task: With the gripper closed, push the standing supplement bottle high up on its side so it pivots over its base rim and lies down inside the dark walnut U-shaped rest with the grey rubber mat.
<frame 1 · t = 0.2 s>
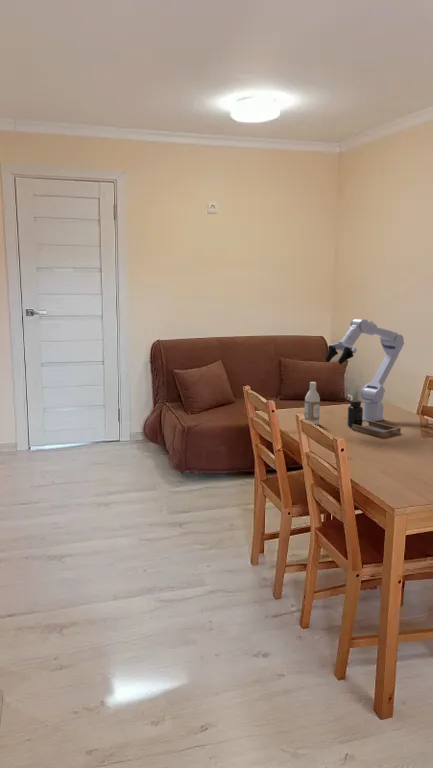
hand: (333, 361, 264), 30 cm above the table, tool tilted 45°, fingers open, 7 cm apart
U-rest: (374, 431, 263), on the table
supplement bottle: (354, 426, 272), on the table
bath foam: (311, 424, 275), on the table
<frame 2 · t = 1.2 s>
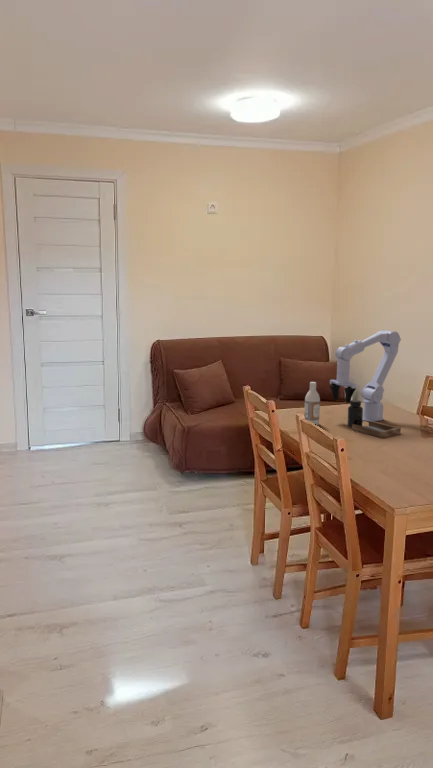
hand: (341, 401, 277), 10 cm above the table, tool pointing down, fingers open, 7 cm apart
nothing on the table moved.
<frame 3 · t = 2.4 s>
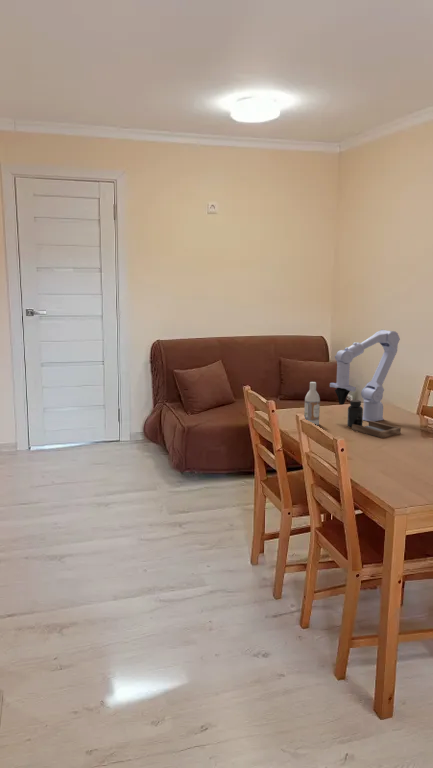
hand: (341, 404, 277), 9 cm above the table, tool pointing down, fingers closed
nothing on the table moved.
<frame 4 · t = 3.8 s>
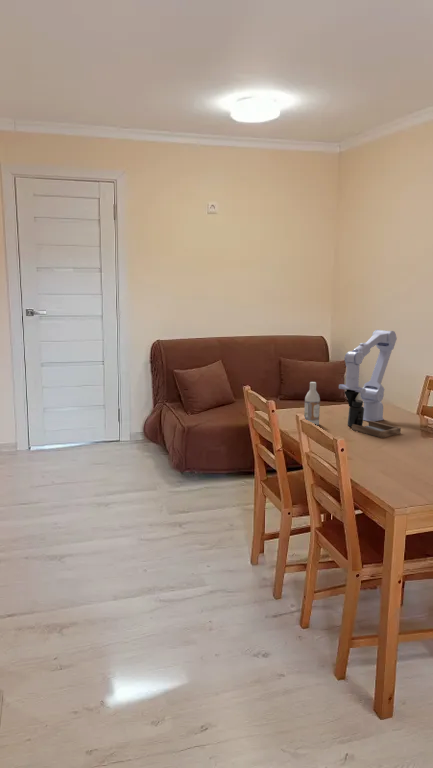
hand: (351, 406, 273), 9 cm above the table, tool pointing down, fingers closed, pressing on supplement bottle
supplement bottle: (354, 425, 272), on the table, touching gripper
everything else where it was.
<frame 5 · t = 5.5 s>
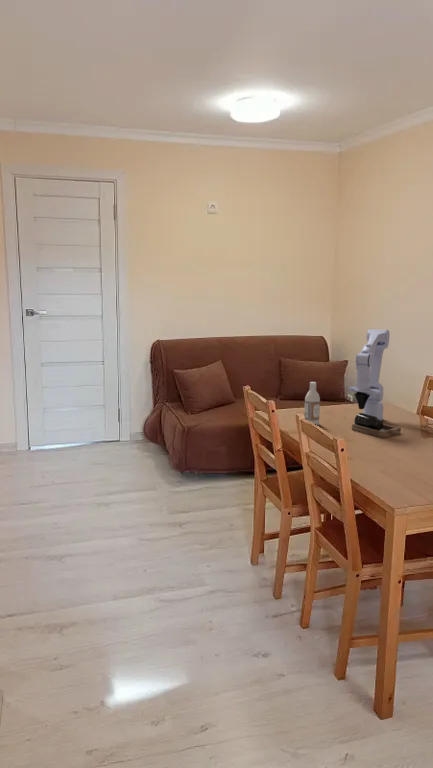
hand: (361, 408, 268), 9 cm above the table, tool pointing down, fingers closed
supplement bottle: (358, 419, 268), point 4 cm above the table, touching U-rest
everything else where it was.
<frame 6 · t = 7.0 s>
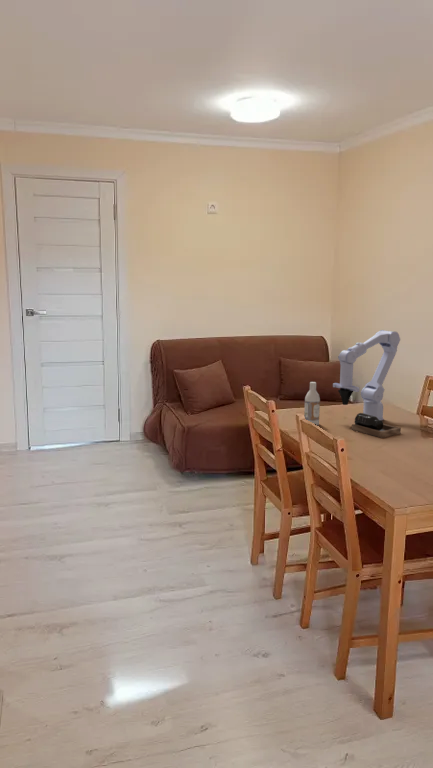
hand: (345, 404, 276), 9 cm above the table, tool pointing down, fingers closed
nothing on the table moved.
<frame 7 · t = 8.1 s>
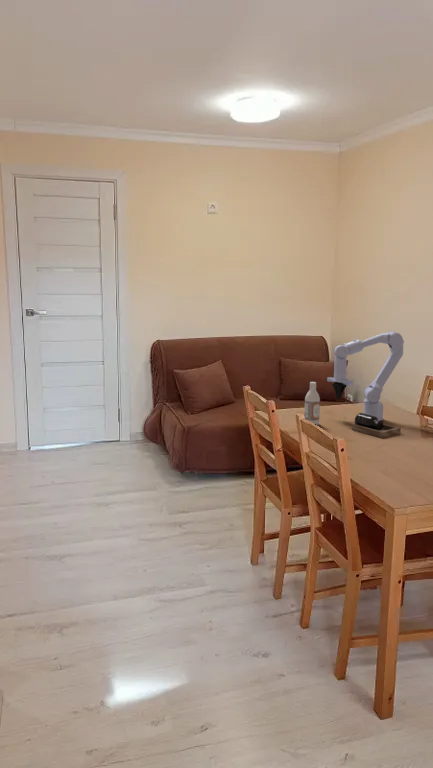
hand: (338, 398, 284), 10 cm above the table, tool pointing down, fingers closed
nothing on the table moved.
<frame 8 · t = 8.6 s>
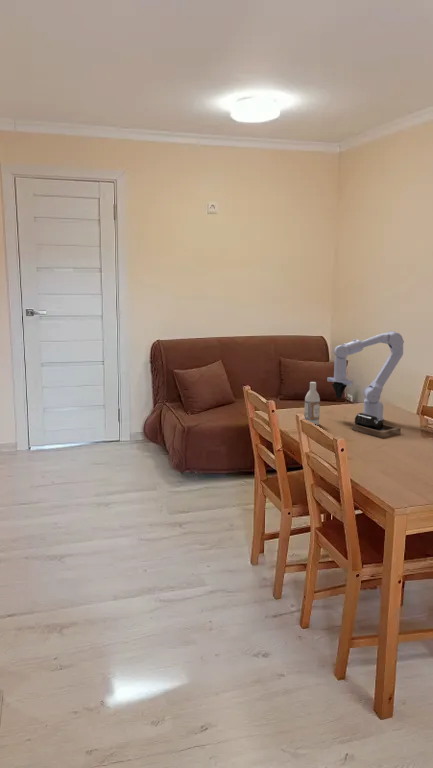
hand: (338, 398, 284), 10 cm above the table, tool pointing down, fingers closed
nothing on the table moved.
at the end: supplement bottle tilted 92°; supplement bottle inside the target area (4.5 cm from its centre), point 3.9 cm above the table; supplement bottle touching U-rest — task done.
